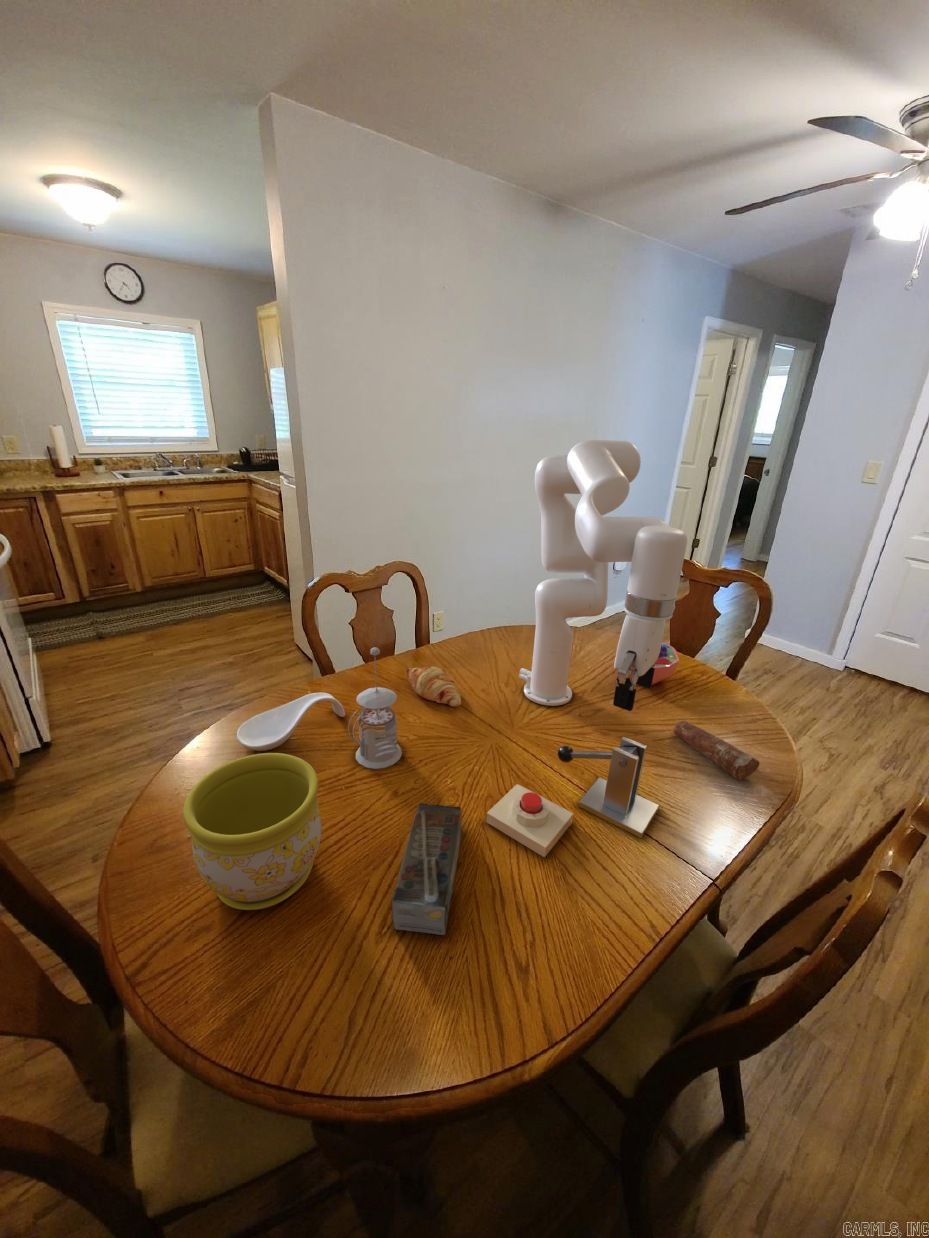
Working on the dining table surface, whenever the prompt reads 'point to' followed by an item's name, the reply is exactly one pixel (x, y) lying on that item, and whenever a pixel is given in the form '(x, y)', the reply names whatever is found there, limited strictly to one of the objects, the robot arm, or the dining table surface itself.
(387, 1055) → the dining table surface
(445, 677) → the croissant
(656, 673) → the cell model
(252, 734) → the spoon rest
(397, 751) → the french press
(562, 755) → the lever
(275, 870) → the flowerpot
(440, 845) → the grey printed box
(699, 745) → the salami
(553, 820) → the button block
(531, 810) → the button
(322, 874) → the dining table surface
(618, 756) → the bracket
